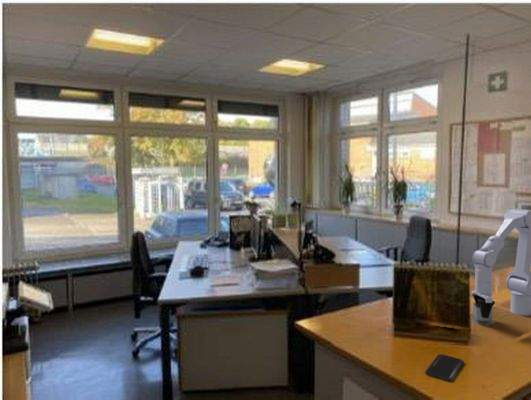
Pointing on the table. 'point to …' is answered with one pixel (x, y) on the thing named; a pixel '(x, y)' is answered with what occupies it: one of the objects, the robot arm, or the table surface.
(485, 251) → the robot arm
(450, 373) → the phone
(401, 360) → the table surface
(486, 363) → the table surface
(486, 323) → the hub plate
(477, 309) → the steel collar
